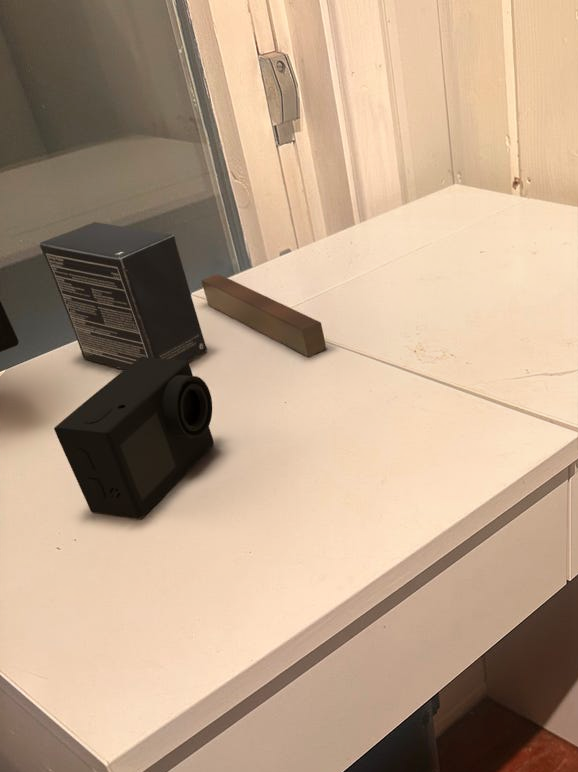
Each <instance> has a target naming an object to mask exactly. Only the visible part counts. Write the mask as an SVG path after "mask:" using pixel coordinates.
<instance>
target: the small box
mask: <svg viewBox="0 0 578 772" xmlns="http://www.w3.org/2000/svg"><path fill="white" fill-rule="evenodd" d="M39 248H40V250H41V252H42V254H43V256H44V258H45V261H46V263H47V265H48V267H49V270H50V273H51V274H52V278H53V280H54V281H55V285H56V288H57V290H58V291H57V292H58V294H59V296H60V298H61V302H62V303H63V306H64V308H65V311H66V314H67V317H68V319H69V322H70V325H71V328H72V330H73V332H74V335H75V338H76V340H77V344H78V345H79V349H80V351H81V355H82V358H83V359H84V360H87V361H91V362H95V363H99V364H103V365H107V366H110V367H115V368H118V369H122V370H125V369H126V368H127V367H128V366H130V365H131V364H132V363H134V362H135V361H136V360H137V359H139V358H140V357H149V358H161V359H173V360H185V361H188V362H189V363H190V362H191V361H192V360H194V359H196V358H198V357H199V356H201V355H203V354H205V353H206V352H207V351H208V348H207V345H206V341H205V338H204V335H203V332H202V328H201V324H200V321H199V317H198V315H197V311H196V307H195V304H194V301H193V298H192V293H191V291H190V287H189V284H188V283H189V282H188V280H187V276H186V272H185V270H184V266H183V263H182V259H181V256H180V252H179V250H178V245H177V243H176V237H175V235H174V234H170V233H164V232H159V231H152V230H146V229H140V228H134V227H129V226H128V227H127V226H121V225H115V224H110V223H103V222H97V221H94V222H91V223H89V224H88V223H87V224H86V225H83V226H80V227H78V228H76V229H73V230H70V231H67V232H65V233H62V234H59V235H56V236H54V237H51V238H48V239H46V240H43V241H40V243H39Z"/></svg>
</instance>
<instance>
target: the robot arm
mask: <svg viewBox="0 0 578 772" xmlns="http://www.w3.org/2000/svg"><path fill="white" fill-rule="evenodd" d="M19 343H20V341H19V339H18V336H17V334H16V332H15V330H14V327H13V325H12V323H11V320H10V318H9V317H8V314H7V312H6V310H5V308H4V306H3V304H2V301H1V300H0V353H2V352H4V351H6V350H9V349H12V348H14V347H17V346H18V345H19Z"/></svg>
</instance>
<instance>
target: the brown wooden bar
mask: <svg viewBox="0 0 578 772" xmlns="http://www.w3.org/2000/svg"><path fill="white" fill-rule="evenodd" d="M200 282H201V285H202V288H203V291H204V295H205V298H206V302H207V306H209V307H211V308H213V309H215V310H217V311H219V312H221V313H223V314H225V315H226V316H229V317H231V318H232V319H235V320H237V321H238V322H239V323H242V324H244V325H246V326H248V327H250V328H252V329H253V330H256V332H257V331H258V332H259V333H261V334H263V335H265V336H267V337H269V338H271V339H273V340H274V341H276V342H278V343H281V344H283V345H285V346H286V347H288V348H290V349H291V350H293V351H296V352H298V353H300V354H301V355H304V356H306V357H308V358H309V357H312V356H314V355H317V354H318V353H322V352H323V351H325V350H327V345H326V340H325V335H324V331H323V330H324V329H323V325H322V322H321V321H319V320H317V319H315V318H312V317H310V316H308V315H306V314H304V313H302V312H300V311H298V310H296V309H293V308H291V307H289V306H288V305H285V304H283V303H281V302H279V301H277V300H275V299H273V298H271V297H268V296H266V295H264V294H262V293H259V292H258V291H256V290H253V289H251V288H249V287H247V286H245V285H243V284H241V283H238V282H237V281H234V280H233V279H230V278H229V277H226V276H224V275H223V274H220V273H218V274H214V275H212V276H210V277H209V276H208V277H207V278H204V279H201V281H200Z"/></svg>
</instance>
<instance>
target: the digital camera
mask: <svg viewBox="0 0 578 772" xmlns="http://www.w3.org/2000/svg"><path fill="white" fill-rule="evenodd" d="M212 416H213V399H212V395H211V391H210V389H209V386H208V385H207V383H206V381H204V380H203V379H202V378H201V377H199V376H197V375H193V371H192V369H191V365H190V361H189V362H188V361H185V360H173V359H161V358H149V357H140V358H139V359H137V360H136V361H135V362H134V363H132V364H131V365H130V366H128V367H127V368H126V369H122V371H121V372H120V373H118V374H117V375H116V376H115V377H113V378H112V379H111V380H110V381H108V383H106V384H105V385H103V386H102V387H101V388H100V389H98V391H96V392H95V393H94V394H93V395H91V396H90V397H89V398H88V399H86V401H84V402H83V403H82V404H80V406H78V407H77V408H76V409H75V410H73V411H72V412H71V413H70V414H69V415H68V416H66V417H65V418H64V419H63V420H61V421H60V422H59V423H58V424H57V425H55V426H54V427H53V430H54V432H55V435H56V437H57V439H58V441H59V444H60V447H61V448H62V450H63V452H64V455H65V457H66V459H67V461H68V464H69V467H70V469H71V471H72V473H73V475H74V477H75V480H76V481H77V484H78V486H79V488H80V491H81V493H82V496H83V497H84V500H85V501H86V504H87V507H88V508H89V510H90V512H91V513H96V514H102V515H103V514H104V515H111V516H118V517H125V518H132V519H142V518H143V517H144V516H145V515H146V514H147V513H148V512H149V511H151V509H152V508H153V507H154V506H155V505H156V504H157V503H158V502H159V501H160V500H161V499H162V498H163V497H164V496H165V495H166V494H167V493H168V492H169V491H170V490H171V489H172V487H174V485H176V483H178V482H179V481H180V479H181V478H182V477H183V476H184V475H185V474H186V473H187V472H188V471H189V470H190V469H191V468H192V467H193V466H194V465H195V464H196V463H197V461H199V460H200V459H201V457H202V456H204V455H205V453H206V452H207V451H208V450H209V449H210V448H212V446H213V445H214V444H215V441H214V438H213V435H212V431H211V429H210V424H211V421H212Z"/></svg>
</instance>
